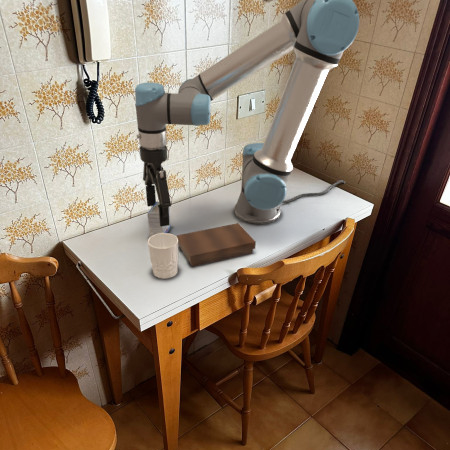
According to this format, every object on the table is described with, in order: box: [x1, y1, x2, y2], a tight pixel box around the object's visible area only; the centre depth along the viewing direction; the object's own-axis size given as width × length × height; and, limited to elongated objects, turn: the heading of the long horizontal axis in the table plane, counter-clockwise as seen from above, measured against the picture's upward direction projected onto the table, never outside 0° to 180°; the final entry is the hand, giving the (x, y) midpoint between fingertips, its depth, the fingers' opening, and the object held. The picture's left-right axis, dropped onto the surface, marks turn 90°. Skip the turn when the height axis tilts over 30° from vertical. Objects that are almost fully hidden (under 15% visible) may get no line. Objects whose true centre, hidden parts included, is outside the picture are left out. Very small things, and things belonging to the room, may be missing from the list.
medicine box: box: [147, 201, 172, 238], centre depth 136 cm, size 8×4×9 cm, turn 168°
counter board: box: [175, 222, 257, 267], centre depth 130 cm, size 20×12×4 cm, turn 114°
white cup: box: [147, 232, 179, 280], centre depth 119 cm, size 8×8×10 cm
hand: (158, 215), depth 135 cm, fingers open, 13 cm apart
